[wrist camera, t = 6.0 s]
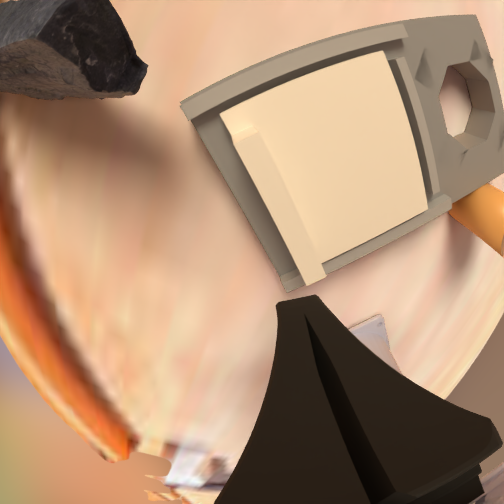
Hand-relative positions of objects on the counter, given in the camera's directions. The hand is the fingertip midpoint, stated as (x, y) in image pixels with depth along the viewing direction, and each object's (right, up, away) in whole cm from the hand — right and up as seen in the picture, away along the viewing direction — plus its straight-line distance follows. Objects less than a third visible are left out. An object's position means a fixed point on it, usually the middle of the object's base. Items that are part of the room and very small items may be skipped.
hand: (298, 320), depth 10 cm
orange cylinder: (+15, +7, +9) cm, 19 cm away
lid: (+3, +7, +4) cm, 8 cm away
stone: (-13, +14, +2) cm, 19 cm away
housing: (+6, +10, +6) cm, 13 cm away
